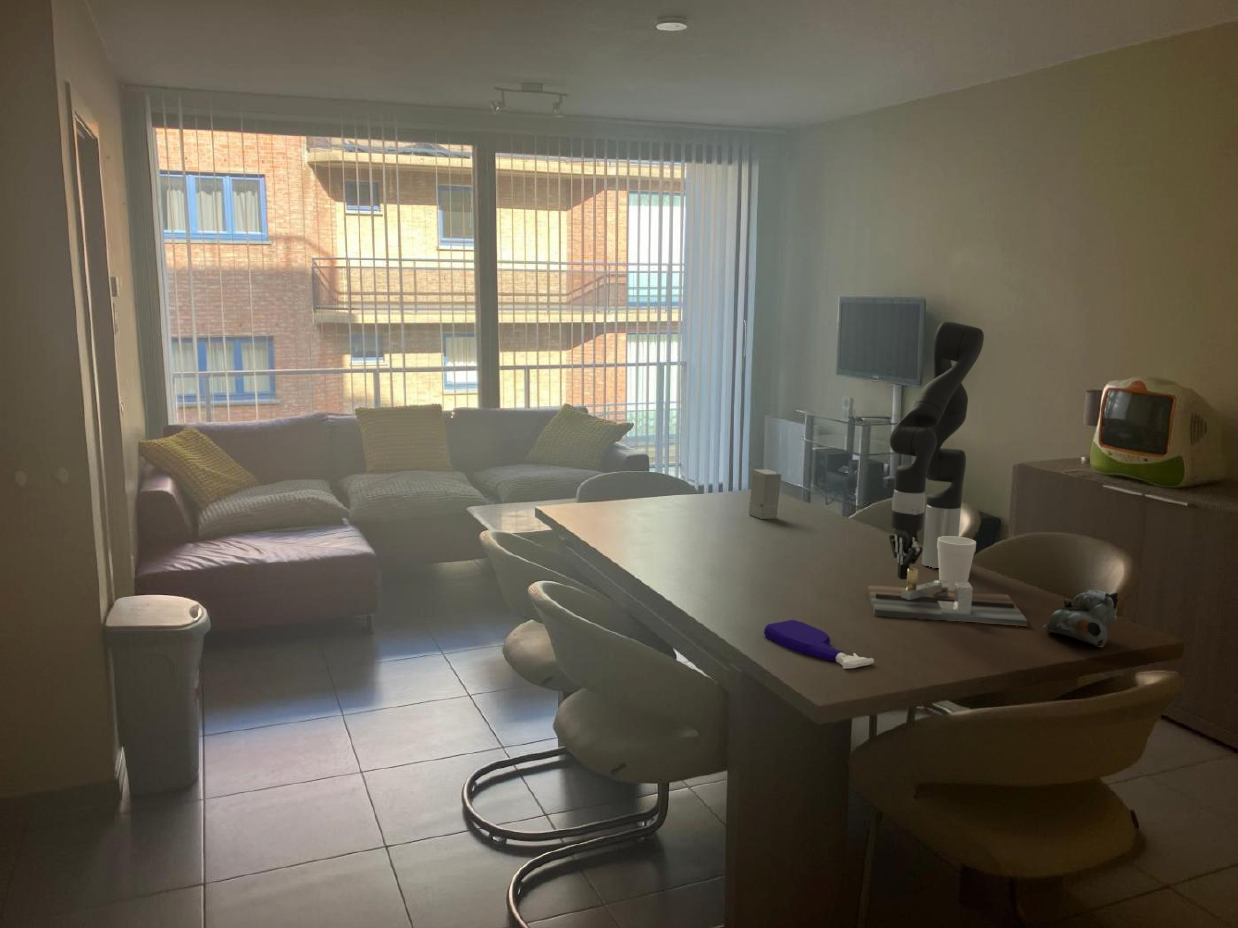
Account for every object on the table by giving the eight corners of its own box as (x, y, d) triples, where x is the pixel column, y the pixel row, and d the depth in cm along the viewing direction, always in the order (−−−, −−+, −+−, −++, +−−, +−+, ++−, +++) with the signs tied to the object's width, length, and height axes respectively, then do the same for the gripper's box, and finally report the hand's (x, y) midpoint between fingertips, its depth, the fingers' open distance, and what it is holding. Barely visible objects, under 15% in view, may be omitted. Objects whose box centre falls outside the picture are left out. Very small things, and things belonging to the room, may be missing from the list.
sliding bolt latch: (867, 590, 253) (868, 580, 253) (1007, 600, 248) (1008, 590, 247) (874, 615, 233) (875, 604, 232) (1027, 627, 227) (1028, 615, 227)
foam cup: (946, 595, 251) (951, 545, 249) (926, 585, 260) (930, 536, 258) (979, 593, 253) (983, 543, 251) (958, 583, 262) (962, 535, 260)
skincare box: (748, 514, 341) (750, 469, 338) (765, 513, 344) (768, 468, 341) (761, 520, 333) (764, 473, 331) (779, 518, 336) (782, 472, 334)
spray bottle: (759, 624, 216) (841, 662, 195) (797, 617, 221) (880, 653, 201) (759, 637, 216) (839, 676, 196) (796, 630, 222) (879, 667, 202)
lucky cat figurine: (1035, 627, 227) (1063, 573, 227) (1086, 653, 224) (1114, 599, 225) (1054, 629, 212) (1083, 571, 213) (1108, 657, 210) (1138, 598, 210)
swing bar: (938, 586, 248) (940, 559, 246) (951, 590, 245) (953, 562, 244) (899, 596, 238) (901, 568, 237) (911, 600, 235) (914, 571, 234)
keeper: (937, 605, 237) (939, 579, 236) (965, 607, 236) (968, 581, 235) (940, 613, 231) (943, 586, 230) (970, 615, 230) (972, 588, 229)
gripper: (881, 503, 243) (876, 571, 246) (906, 515, 230) (901, 587, 234) (909, 502, 245) (904, 569, 248) (936, 514, 232) (930, 586, 235)
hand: (902, 578), depth 241 cm, fingers closed
